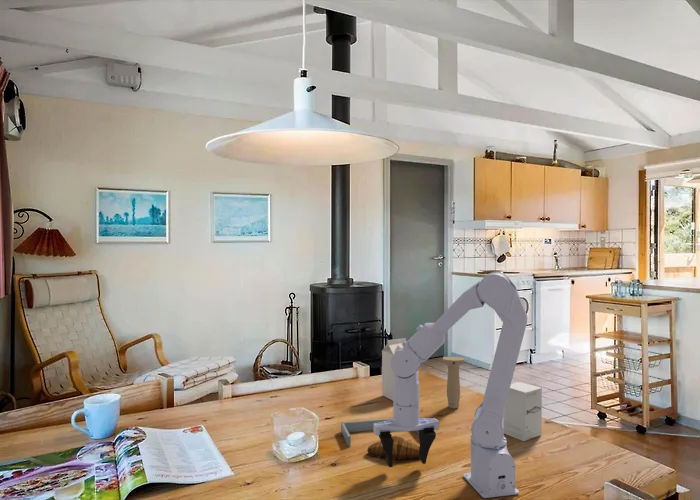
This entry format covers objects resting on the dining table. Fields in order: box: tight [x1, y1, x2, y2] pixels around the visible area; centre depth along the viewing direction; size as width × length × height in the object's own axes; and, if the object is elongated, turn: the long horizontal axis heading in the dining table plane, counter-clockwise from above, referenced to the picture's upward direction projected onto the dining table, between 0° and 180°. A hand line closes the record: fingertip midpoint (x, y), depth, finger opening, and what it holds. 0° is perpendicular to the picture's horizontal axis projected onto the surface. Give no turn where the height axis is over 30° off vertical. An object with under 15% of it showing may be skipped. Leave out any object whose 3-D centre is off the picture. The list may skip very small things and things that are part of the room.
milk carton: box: [381, 337, 407, 402], centre depth 156 cm, size 7×7×19 cm
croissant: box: [366, 435, 420, 460], centre depth 114 cm, size 14×7×5 cm, turn 83°
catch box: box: [340, 417, 419, 447], centre depth 125 cm, size 10×20×2 cm, turn 102°
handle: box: [442, 356, 465, 409], centre depth 147 cm, size 5×6×15 cm
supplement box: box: [503, 381, 543, 442], centre depth 126 cm, size 7×7×13 cm
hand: (406, 463), depth 106 cm, fingers open, 7 cm apart
